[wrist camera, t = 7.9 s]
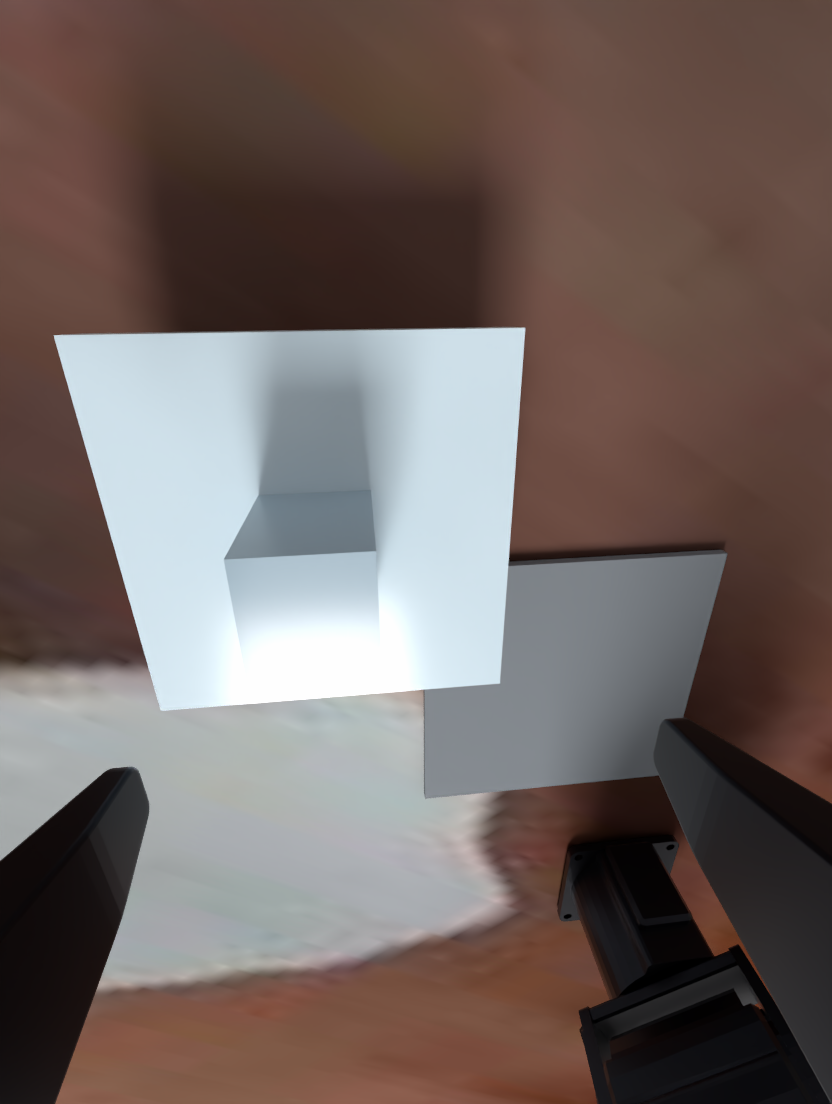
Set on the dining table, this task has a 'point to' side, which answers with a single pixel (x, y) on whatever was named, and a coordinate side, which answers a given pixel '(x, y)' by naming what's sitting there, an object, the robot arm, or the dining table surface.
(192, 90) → the dining table surface
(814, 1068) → the robot arm
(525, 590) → the mat
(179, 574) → the lid
